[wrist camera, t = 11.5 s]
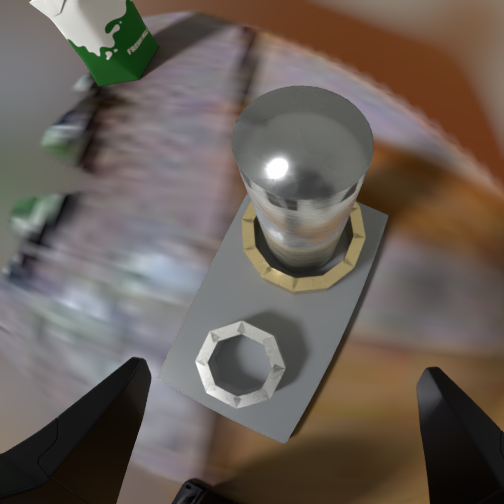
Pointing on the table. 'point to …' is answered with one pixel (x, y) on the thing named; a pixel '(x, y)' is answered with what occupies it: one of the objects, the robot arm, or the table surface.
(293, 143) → the disc
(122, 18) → the milk carton
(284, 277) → the wide brass socket
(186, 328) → the fitting board
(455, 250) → the table surface
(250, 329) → the narrow aluminium socket
